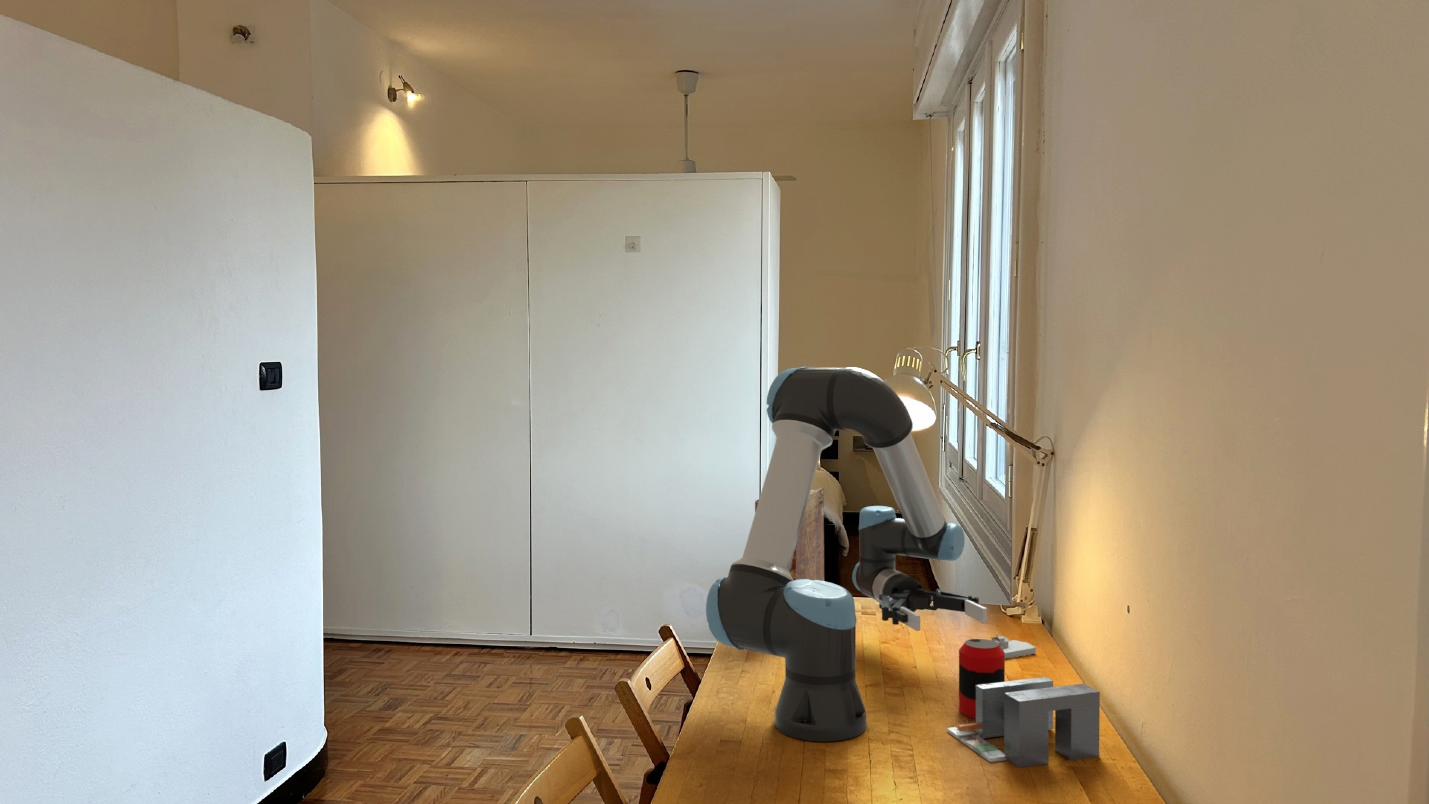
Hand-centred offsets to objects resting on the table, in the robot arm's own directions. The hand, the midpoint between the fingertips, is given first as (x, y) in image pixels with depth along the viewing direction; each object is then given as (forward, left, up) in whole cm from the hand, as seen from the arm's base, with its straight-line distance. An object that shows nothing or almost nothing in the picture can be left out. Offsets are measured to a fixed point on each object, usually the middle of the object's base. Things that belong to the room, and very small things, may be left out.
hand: (952, 619), depth 184 cm
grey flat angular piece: (+22, +19, -14) cm, 32 cm away
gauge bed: (-2, -25, -13) cm, 28 cm away
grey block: (-2, -23, -13) cm, 27 cm away
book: (-12, +52, -14) cm, 55 cm away
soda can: (-1, -11, -13) cm, 17 cm away
